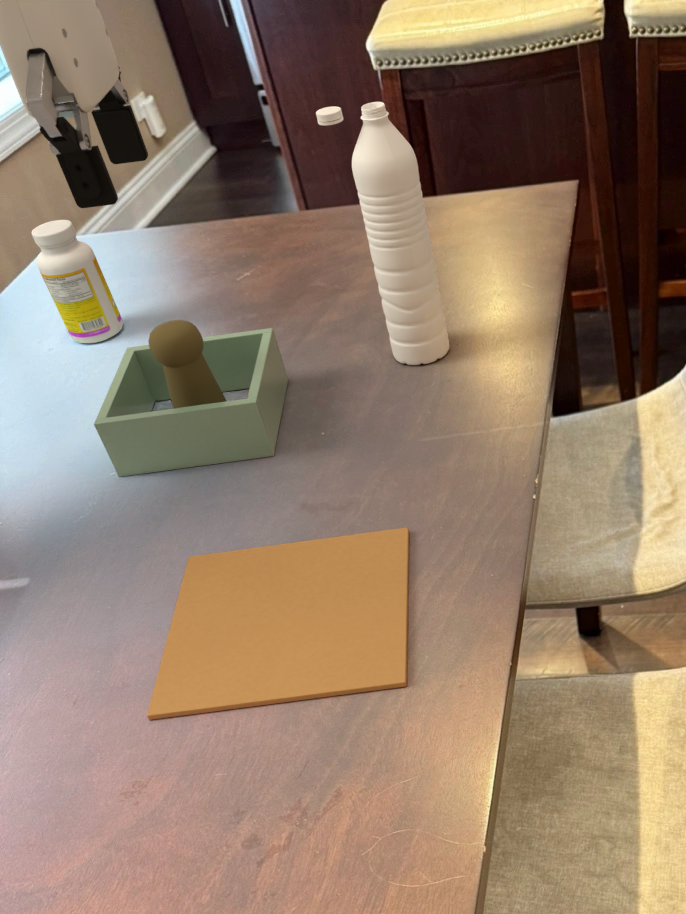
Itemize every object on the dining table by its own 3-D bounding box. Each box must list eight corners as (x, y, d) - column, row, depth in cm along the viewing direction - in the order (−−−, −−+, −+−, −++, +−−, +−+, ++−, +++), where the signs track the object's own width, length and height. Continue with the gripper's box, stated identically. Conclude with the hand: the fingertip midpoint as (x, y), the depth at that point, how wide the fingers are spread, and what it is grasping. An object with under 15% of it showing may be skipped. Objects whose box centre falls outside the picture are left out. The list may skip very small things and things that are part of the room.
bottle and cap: (449, 335, 116) (406, 89, 98) (450, 361, 111) (405, 109, 93) (374, 345, 116) (317, 101, 98) (373, 372, 112) (313, 122, 93)
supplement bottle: (96, 318, 129) (51, 213, 120) (135, 323, 127) (92, 217, 118) (60, 342, 125) (10, 236, 116) (99, 348, 123) (52, 241, 114)
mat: (148, 720, 77) (146, 715, 77) (190, 560, 91) (188, 556, 90) (406, 686, 77) (405, 682, 76) (409, 531, 90) (408, 526, 90)
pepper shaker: (177, 419, 109) (137, 321, 101) (232, 405, 110) (197, 307, 102) (181, 446, 105) (140, 346, 97) (238, 431, 106) (202, 331, 98)
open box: (118, 477, 102) (93, 424, 98) (148, 398, 113) (126, 347, 109) (273, 456, 102) (255, 402, 97) (288, 378, 113) (272, 327, 108)
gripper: (2, -97, 75) (99, 152, 88) (-90, -49, 64) (37, 230, 76) (99, -111, 75) (183, 141, 87) (24, -66, 63) (133, 217, 76)
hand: (115, 182), depth 82 cm, fingers open, 9 cm apart
